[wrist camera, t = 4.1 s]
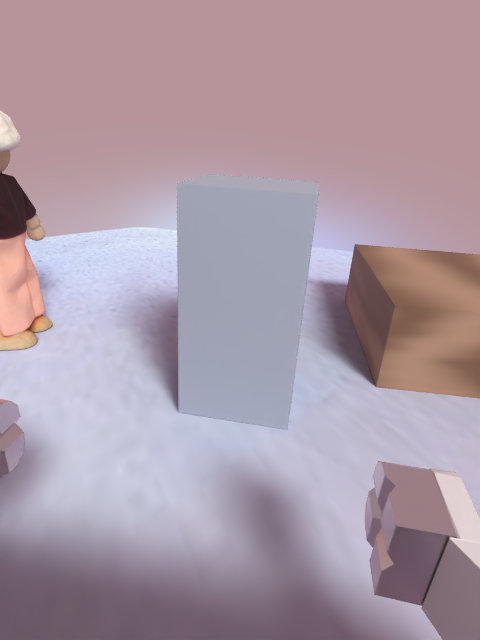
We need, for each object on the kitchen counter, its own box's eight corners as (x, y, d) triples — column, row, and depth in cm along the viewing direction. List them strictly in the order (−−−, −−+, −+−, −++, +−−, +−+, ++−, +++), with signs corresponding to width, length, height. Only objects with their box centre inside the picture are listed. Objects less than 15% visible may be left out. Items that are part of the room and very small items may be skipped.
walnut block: (374, 392, 21) (395, 305, 19) (344, 303, 33) (354, 244, 31) (634, 421, 20) (685, 333, 18) (507, 319, 32) (530, 258, 30)
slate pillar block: (178, 412, 18) (176, 183, 14) (205, 359, 23) (210, 174, 19) (287, 429, 18) (318, 194, 14) (293, 371, 22) (317, 182, 18)
